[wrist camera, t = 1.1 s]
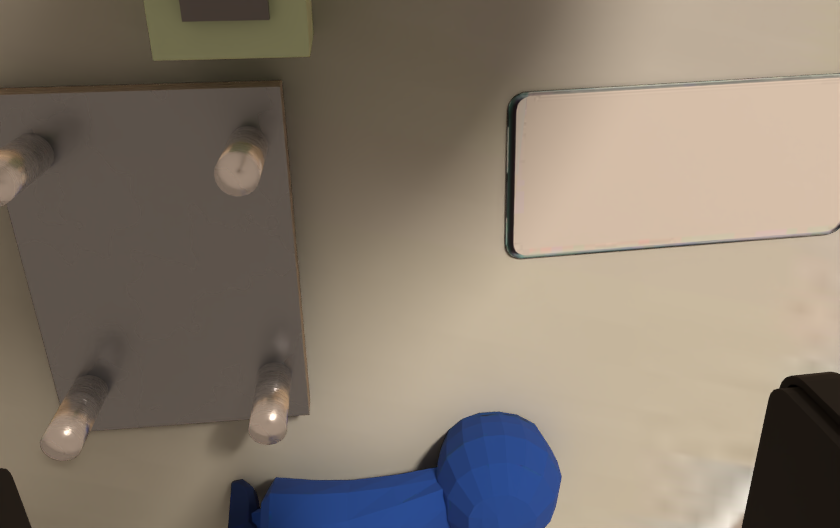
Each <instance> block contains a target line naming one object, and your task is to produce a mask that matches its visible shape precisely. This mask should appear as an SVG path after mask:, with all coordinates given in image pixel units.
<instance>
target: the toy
mask: <svg viewBox="0 0 840 528" xmlns="http://www.w3.org/2000/svg"><path fill="white" fill-rule="evenodd" d="M561 478H562V476H561V473H560V469H559V466H558V462H557V460H556V458H555V456H554V454H553V452H552V450H551V448H550V447H549V445H548V444H547V442H546V441H545V439H544V438H543V436H542V435H541V433H540V431H539V430H538V428H537V427H536V425H535V424H534V423H532V422H530V421H528V420H526V419H524V418H522V417H520V416H518V415H515V414H509V413H503V412H486V413H478V414H475V415H472V416H469V417H466V418H464V419H462V420H460V421H459V422H458V423H457V424H456V425H454V426H453V427H452V428H451V429H449V431H448V433H447V435H446V437H445V440H444V442H443V444H442V446H441V451H440V455H439V459H438V467H435V468H429V469H424V470H419V471H414V472H409V473H403V474H398V475H390V476H382V477H374V478H366V479H358V480H306V479H292V478H278V477H276V478H275V479H274V481H273V483H272V484H271V486H270V487H269V489H268V491H267V493H266V495H265V497H264V499H263V501H262V503H261V508H260V505H259V500H258V496H257V493H256V491H255V490H254V488H253V487H252V486H251V485H250V484H248V483H247V482H246V481H244V480H243V479H241V480H236V481H233V482H232V485H231V497H230V510H229V523H228V528H545V527H546V526H547V524H548V523H549V522H550V520H551V518H552V515H553V512H554V510H555V507H556V503H557V498H558V493H559V488H560V483H561Z"/></svg>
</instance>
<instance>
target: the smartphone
mask: <svg viewBox="0 0 840 528" xmlns="http://www.w3.org/2000/svg"><path fill="white" fill-rule="evenodd" d="M839 228H840V73H834V74H817V75H801V76H784V77H767V78H750V79H733V80H716V81H699V82H682V83H665V84H648V85H632V86H615V87H598V88H581V89H564V90H547V91H530V92H522V93H520V94H518V95H516V96H514V97H513V98H512V100H511V101H510V103H509V105H508V113H507V169H506V230H505V246H506V250H507V252H508V253H509V254H510V255H511V256H512V257H515V258H520V259H522V258H534V257H547V256H559V255H572V254H585V253H597V252H610V251H622V250H635V249H648V248H660V247H673V246H685V245H698V244H710V243H723V242H736V241H748V240H761V239H773V238H786V237H798V236H811V235H824V234H831V233H833V232H835V231H837V230H838V229H839Z"/></svg>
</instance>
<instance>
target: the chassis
mask: <svg viewBox="0 0 840 528" xmlns="http://www.w3.org/2000/svg"><path fill="white" fill-rule="evenodd" d="M6 204H7V208H8V212H9V215H10V219H11V223H12V226H13V230H14V234H15V238H16V241H17V245H18V249H19V253H20V256H21V260H22V264H23V268H24V271H25V275H26V279H27V283H28V286H29V290H30V294H31V297H32V301H33V305H34V309H35V312H36V316H37V320H38V324H39V327H40V331H41V335H42V339H43V342H44V346H45V350H46V353H47V357H48V361H49V365H50V368H51V372H52V376H53V380H54V383H55V387H56V391H57V395H58V398H59V402H60V407H59V409H58V410H57V412H56V414H55V416H54V417H53V419H52V421H51V423H50V424H49V426H48V428H47V430H46V431H45V433H44V435H43V437H42V438H41V441H40V446H41V449H42V451H43V452H44V453H45V454H46V455H47V456H49V457H50V458H52V459H55V460H60V461H66V460H71V459H73V458H75V457H76V456H78V454H79V453H80V451H81V449H82V447H83V445H84V443H85V441H86V439H87V437H88V435H89V433H90V431H99V430H112V429H125V428H139V427H152V426H166V425H179V424H192V423H206V422H219V421H232V420H246V419H250V422H249V434H250V436H251V438H252V439H253V440H255V441H256V442H258V443H260V444H265V445H270V444H275V443H277V442H279V441H281V440H282V439H283V438H284V436H285V435H286V431H287V421H288V416H299V415H309V411H310V392H309V381H308V369H307V358H306V347H305V335H304V324H303V313H302V301H301V290H300V278H299V267H298V256H297V244H296V233H295V222H294V210H293V199H292V188H291V176H290V165H289V153H288V142H287V131H286V119H285V108H284V97H283V85H282V80H272V81H237V82H202V83H167V84H133V85H98V86H63V87H29V88H0V207H1V206H4V205H6Z"/></svg>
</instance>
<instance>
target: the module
mask: <svg viewBox="0 0 840 528" xmlns="http://www.w3.org/2000/svg"><path fill="white" fill-rule="evenodd" d="M143 2H144V8H145V15H146V21H147V27H148V33H149V39H150V46H151V52H152V58H153V61H165V60H206V59H246V58H286V57H310V53H311V47H312V41H313V35H314V34H313V19H312V5H311V0H143Z"/></svg>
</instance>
